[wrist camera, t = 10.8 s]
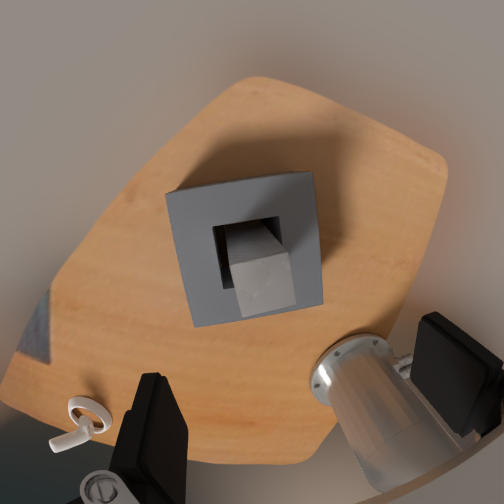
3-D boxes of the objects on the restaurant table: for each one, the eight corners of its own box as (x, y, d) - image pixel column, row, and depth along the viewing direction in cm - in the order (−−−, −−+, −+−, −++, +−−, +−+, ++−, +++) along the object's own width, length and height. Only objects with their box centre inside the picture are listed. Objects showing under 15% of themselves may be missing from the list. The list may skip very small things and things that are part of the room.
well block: (293, 171, 29) (312, 171, 23) (305, 281, 32) (323, 304, 26) (175, 189, 28) (165, 194, 22) (197, 300, 31) (194, 327, 25)
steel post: (258, 218, 30) (287, 252, 17) (264, 250, 31) (296, 304, 18) (224, 225, 29) (229, 265, 17) (231, 258, 30) (242, 317, 18)
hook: (26, 399, 27) (46, 425, 24) (87, 382, 38) (112, 401, 35) (37, 437, 27) (58, 463, 24) (92, 417, 38) (117, 438, 35)
